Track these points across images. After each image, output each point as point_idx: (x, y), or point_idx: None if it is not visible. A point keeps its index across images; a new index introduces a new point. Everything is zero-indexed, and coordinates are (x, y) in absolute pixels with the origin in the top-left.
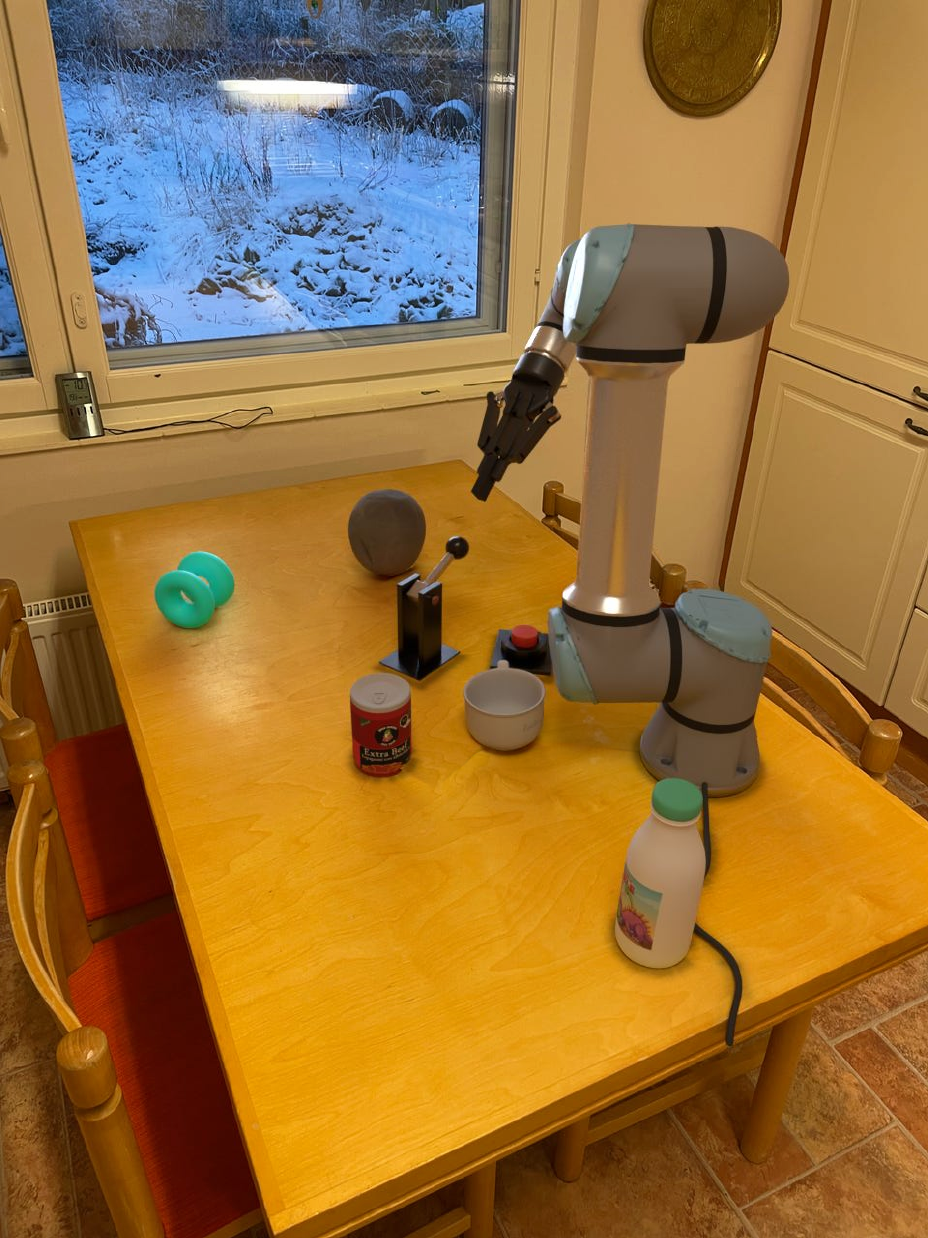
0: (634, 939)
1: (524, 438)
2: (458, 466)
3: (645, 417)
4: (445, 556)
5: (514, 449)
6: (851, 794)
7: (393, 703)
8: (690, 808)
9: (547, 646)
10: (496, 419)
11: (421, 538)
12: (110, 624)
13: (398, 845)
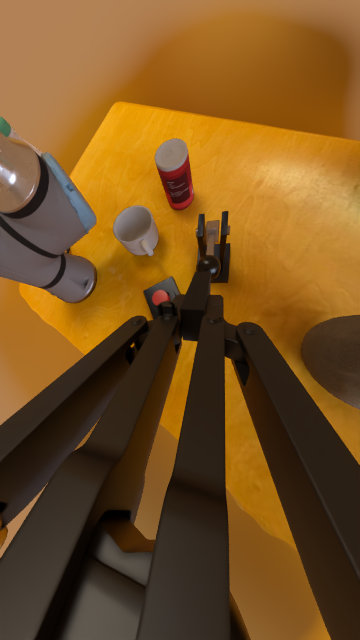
0: None
1: (101, 355)
2: None
3: None
4: (211, 254)
5: (136, 328)
6: (34, 296)
7: (158, 152)
8: None
9: (154, 312)
10: (289, 505)
11: (310, 363)
12: None
13: (149, 175)
